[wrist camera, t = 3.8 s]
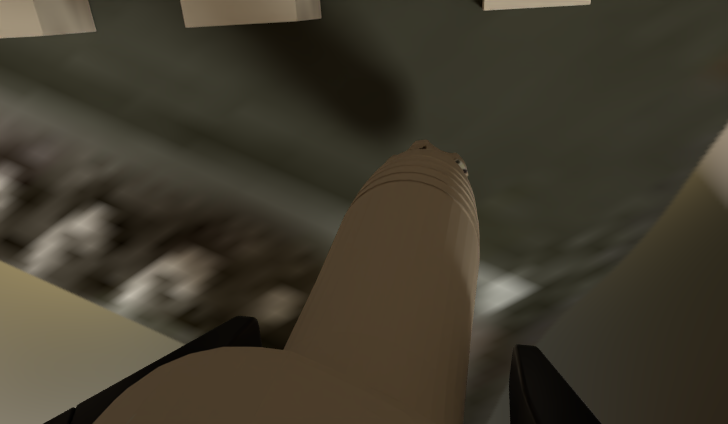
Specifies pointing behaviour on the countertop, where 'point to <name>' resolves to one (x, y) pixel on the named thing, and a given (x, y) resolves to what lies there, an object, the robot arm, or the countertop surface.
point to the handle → (353, 320)
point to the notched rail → (188, 13)
